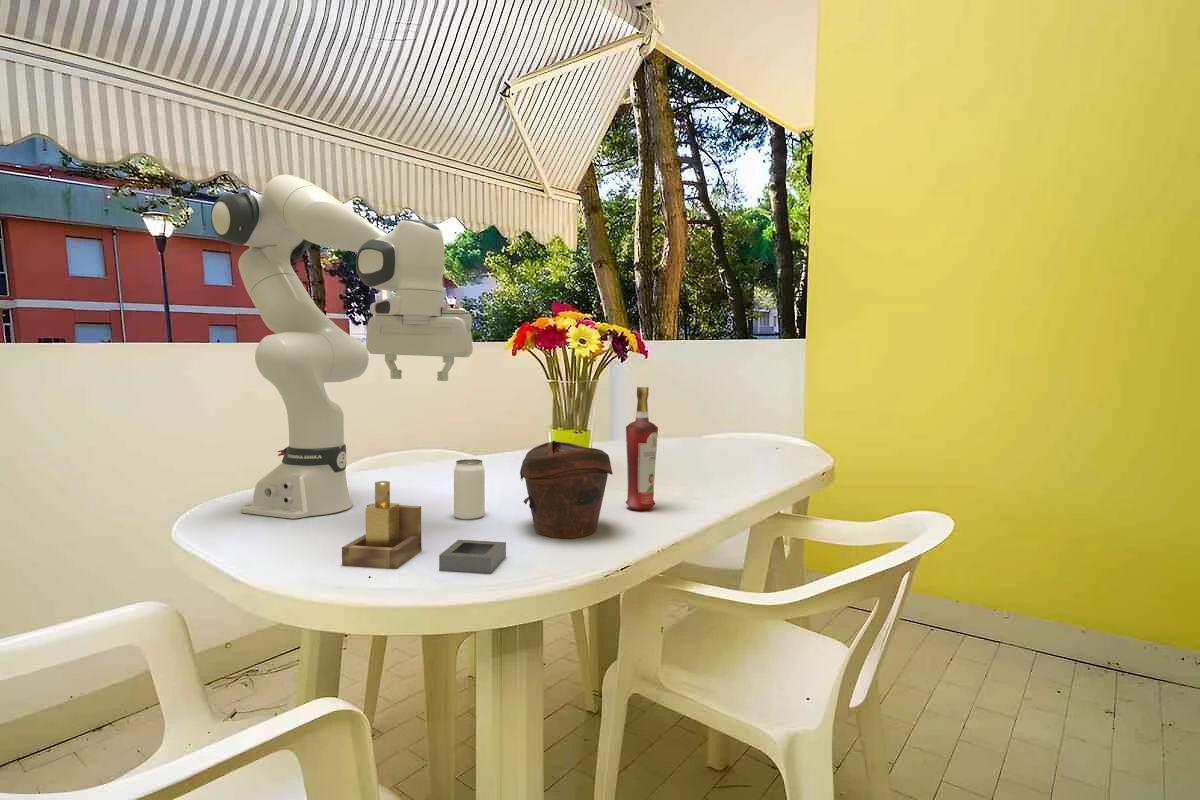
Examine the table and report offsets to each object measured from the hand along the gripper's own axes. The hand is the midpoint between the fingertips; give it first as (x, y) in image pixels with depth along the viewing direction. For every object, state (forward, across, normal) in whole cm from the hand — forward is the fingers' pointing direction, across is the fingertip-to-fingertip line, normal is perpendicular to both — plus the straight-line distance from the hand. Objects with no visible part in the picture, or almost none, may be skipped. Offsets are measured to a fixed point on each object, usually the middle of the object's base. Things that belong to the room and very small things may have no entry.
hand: (419, 379), depth 119 cm
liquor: (+29, -41, -28) cm, 58 cm away
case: (+30, -28, -8) cm, 41 cm away
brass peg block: (+30, -1, +16) cm, 34 cm away
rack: (+30, -1, +16) cm, 34 cm away
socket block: (+29, -17, +15) cm, 37 cm away
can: (+30, -6, -14) cm, 33 cm away
